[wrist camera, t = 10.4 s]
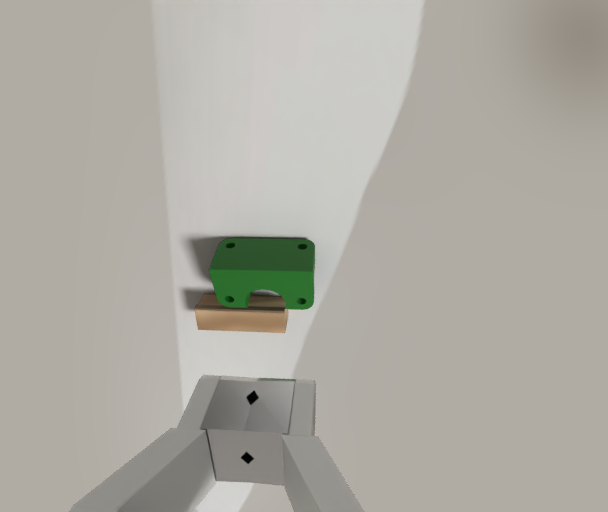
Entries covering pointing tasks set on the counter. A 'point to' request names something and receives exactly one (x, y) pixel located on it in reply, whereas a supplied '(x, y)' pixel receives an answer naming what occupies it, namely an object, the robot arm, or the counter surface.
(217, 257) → the clamp
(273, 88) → the counter surface
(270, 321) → the stop rail
